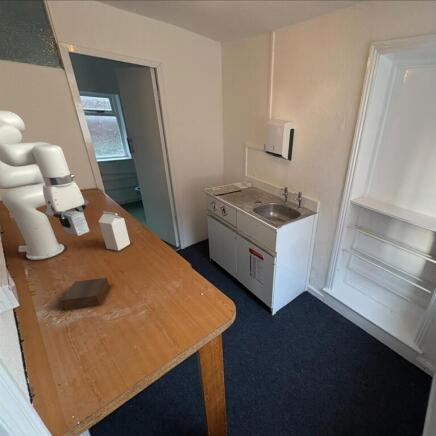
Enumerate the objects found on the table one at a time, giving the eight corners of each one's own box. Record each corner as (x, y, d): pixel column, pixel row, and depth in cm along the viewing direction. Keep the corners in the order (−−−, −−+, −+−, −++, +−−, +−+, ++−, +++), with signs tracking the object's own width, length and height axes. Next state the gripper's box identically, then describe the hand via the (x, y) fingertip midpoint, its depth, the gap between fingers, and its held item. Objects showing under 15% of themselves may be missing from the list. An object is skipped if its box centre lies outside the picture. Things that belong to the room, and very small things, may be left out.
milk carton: (118, 251, 114) (108, 216, 106) (106, 248, 115) (95, 214, 107) (130, 244, 121) (122, 210, 113) (118, 241, 122) (109, 208, 114)
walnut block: (65, 310, 81) (60, 300, 79) (78, 290, 89) (75, 281, 88) (99, 305, 84) (96, 295, 82) (109, 286, 92) (106, 277, 91)
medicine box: (90, 231, 95) (83, 212, 92) (78, 236, 91) (70, 216, 88) (76, 228, 97) (69, 209, 94) (64, 232, 93) (56, 212, 90)
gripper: (76, 173, 94) (89, 215, 101) (21, 184, 79) (42, 231, 86) (90, 176, 92) (102, 218, 99) (36, 187, 77) (56, 235, 85)
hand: (74, 223), depth 93 cm, fingers closed on medicine box, 4 cm apart
